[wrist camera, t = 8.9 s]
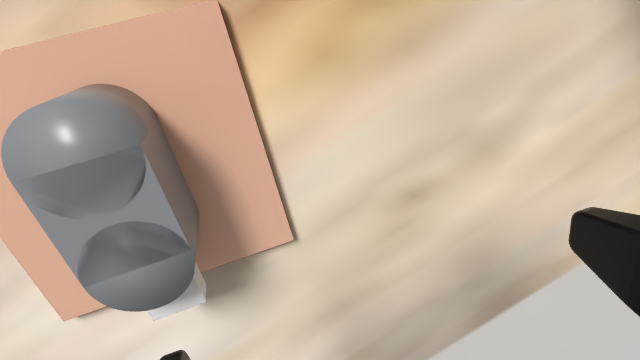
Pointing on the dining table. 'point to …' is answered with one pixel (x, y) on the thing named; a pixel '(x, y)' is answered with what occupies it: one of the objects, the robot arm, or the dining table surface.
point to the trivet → (177, 123)
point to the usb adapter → (109, 197)
